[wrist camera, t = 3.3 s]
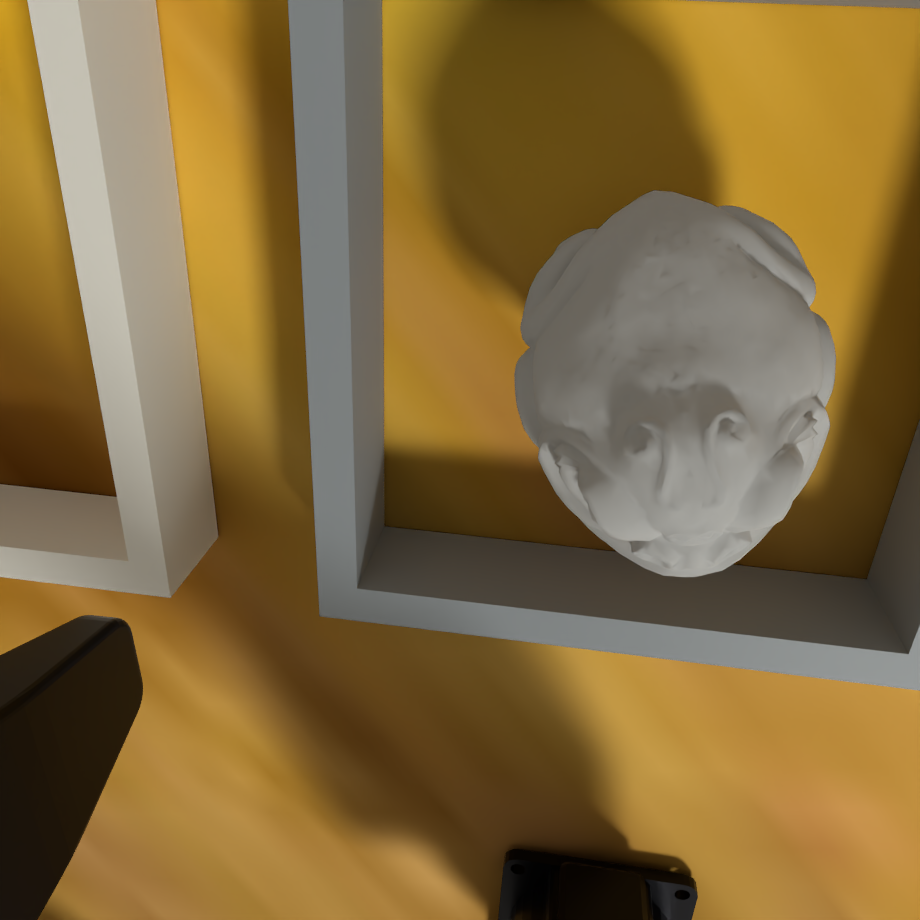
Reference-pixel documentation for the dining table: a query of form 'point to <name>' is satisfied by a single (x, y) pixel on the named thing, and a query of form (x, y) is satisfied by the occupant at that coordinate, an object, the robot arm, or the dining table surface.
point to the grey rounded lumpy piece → (676, 380)
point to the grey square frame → (507, 561)
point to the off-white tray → (120, 314)
